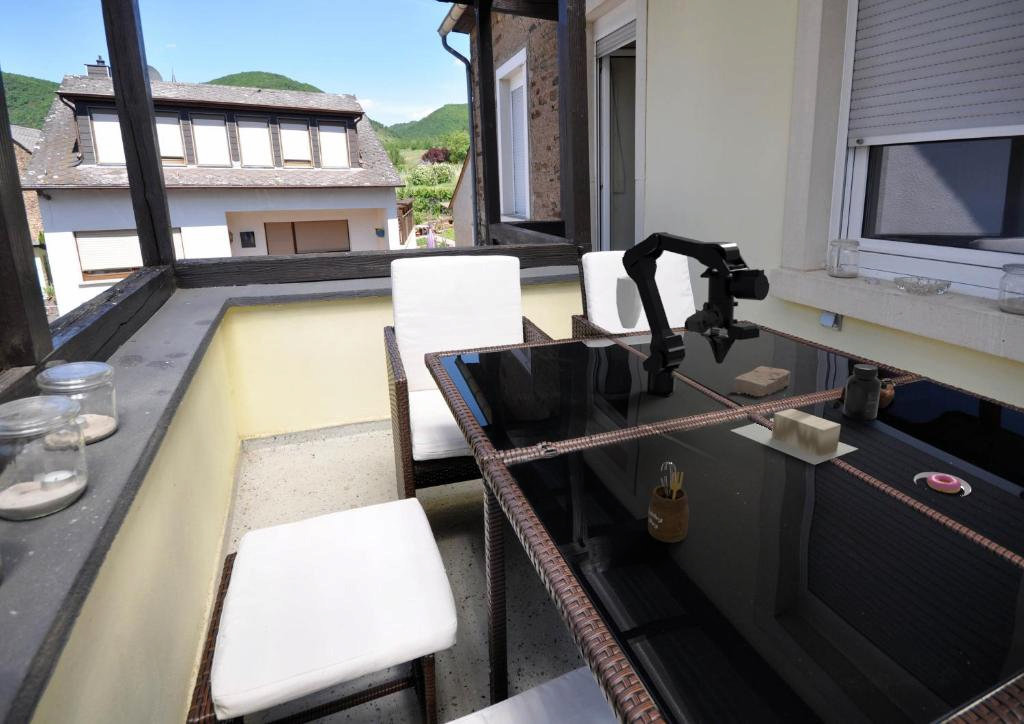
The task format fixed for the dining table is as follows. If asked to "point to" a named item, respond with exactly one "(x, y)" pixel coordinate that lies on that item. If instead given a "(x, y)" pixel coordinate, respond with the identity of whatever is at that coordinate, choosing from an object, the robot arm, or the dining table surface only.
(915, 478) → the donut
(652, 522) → the utensil holder
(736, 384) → the brick
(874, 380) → the supplement bottle
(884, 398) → the pastry
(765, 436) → the mat
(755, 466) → the dining table surface
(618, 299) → the cup
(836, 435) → the block
